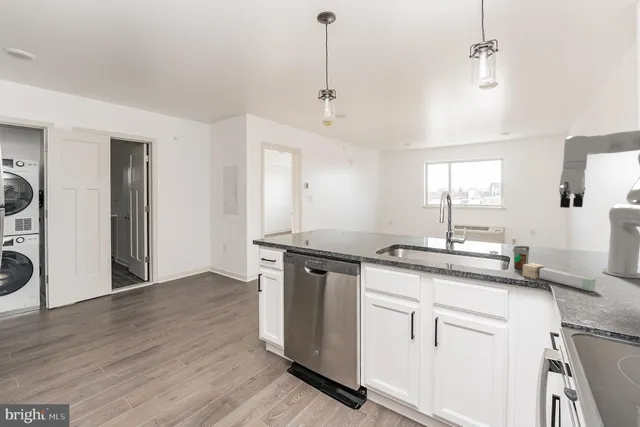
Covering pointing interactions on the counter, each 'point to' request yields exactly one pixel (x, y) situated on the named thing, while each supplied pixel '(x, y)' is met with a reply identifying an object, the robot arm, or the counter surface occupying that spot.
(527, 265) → the hinge block
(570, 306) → the counter surface
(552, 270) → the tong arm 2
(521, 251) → the food container
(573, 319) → the counter surface
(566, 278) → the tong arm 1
